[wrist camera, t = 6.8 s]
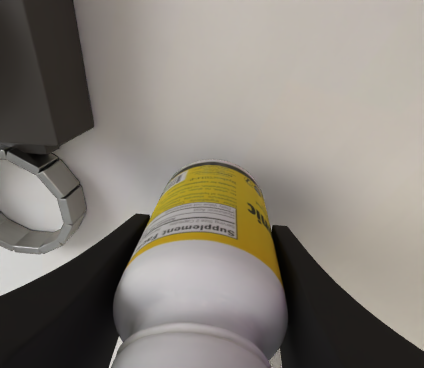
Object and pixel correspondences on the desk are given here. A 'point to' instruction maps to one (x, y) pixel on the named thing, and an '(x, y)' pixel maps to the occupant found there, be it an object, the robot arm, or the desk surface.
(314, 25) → the desk surface
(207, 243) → the supplement bottle
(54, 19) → the power button base
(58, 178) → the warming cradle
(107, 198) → the desk surface
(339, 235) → the desk surface
